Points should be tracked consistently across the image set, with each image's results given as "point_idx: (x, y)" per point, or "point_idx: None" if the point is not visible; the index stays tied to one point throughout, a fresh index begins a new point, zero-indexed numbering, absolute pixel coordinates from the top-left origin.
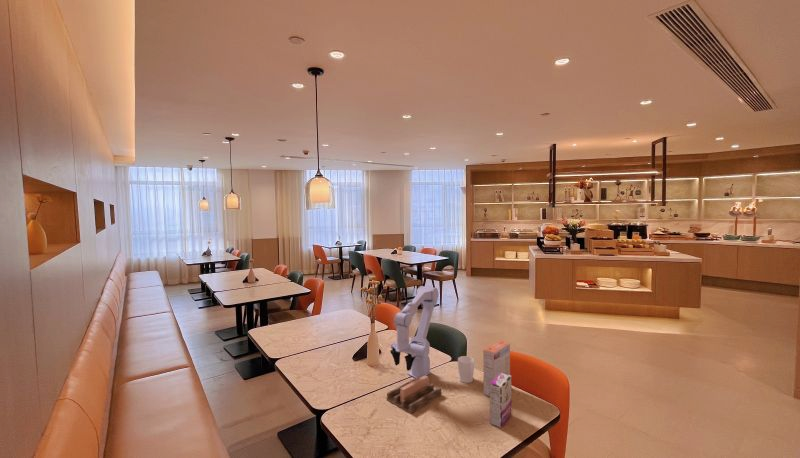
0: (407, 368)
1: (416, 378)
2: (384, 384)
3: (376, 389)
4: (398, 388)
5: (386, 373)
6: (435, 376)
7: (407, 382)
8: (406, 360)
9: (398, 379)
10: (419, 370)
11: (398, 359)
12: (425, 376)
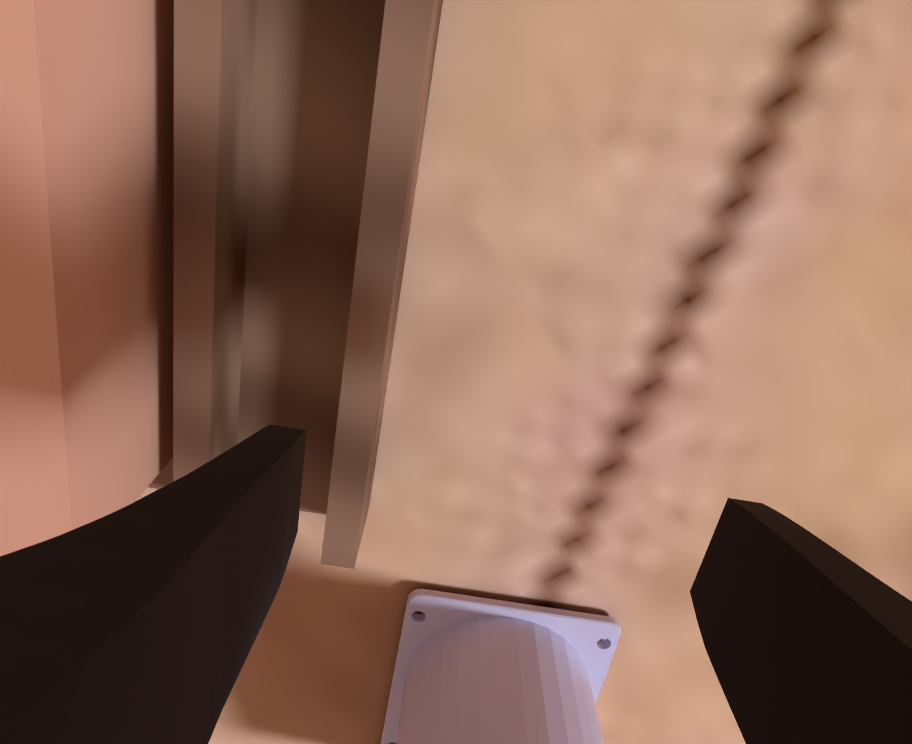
0: (246, 443)
1: (340, 523)
2: (787, 229)
3: (844, 3)
4: (382, 57)
5: (902, 501)
6: (298, 722)
7: (381, 348)
8: (47, 609)
9: (659, 459)
10: (431, 706)
11: (761, 688)
12: (31, 540)
